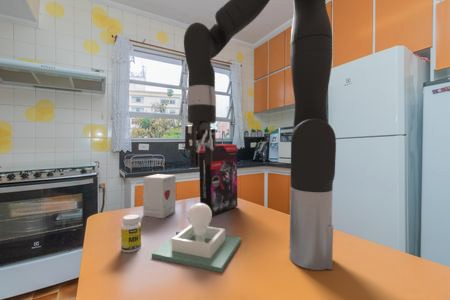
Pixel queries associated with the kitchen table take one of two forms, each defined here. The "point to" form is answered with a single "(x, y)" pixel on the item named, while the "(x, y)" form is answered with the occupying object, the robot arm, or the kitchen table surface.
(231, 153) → the graphics card box
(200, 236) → the lightbulb
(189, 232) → the board
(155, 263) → the kitchen table surface
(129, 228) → the supplement bottle
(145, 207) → the supplement box
